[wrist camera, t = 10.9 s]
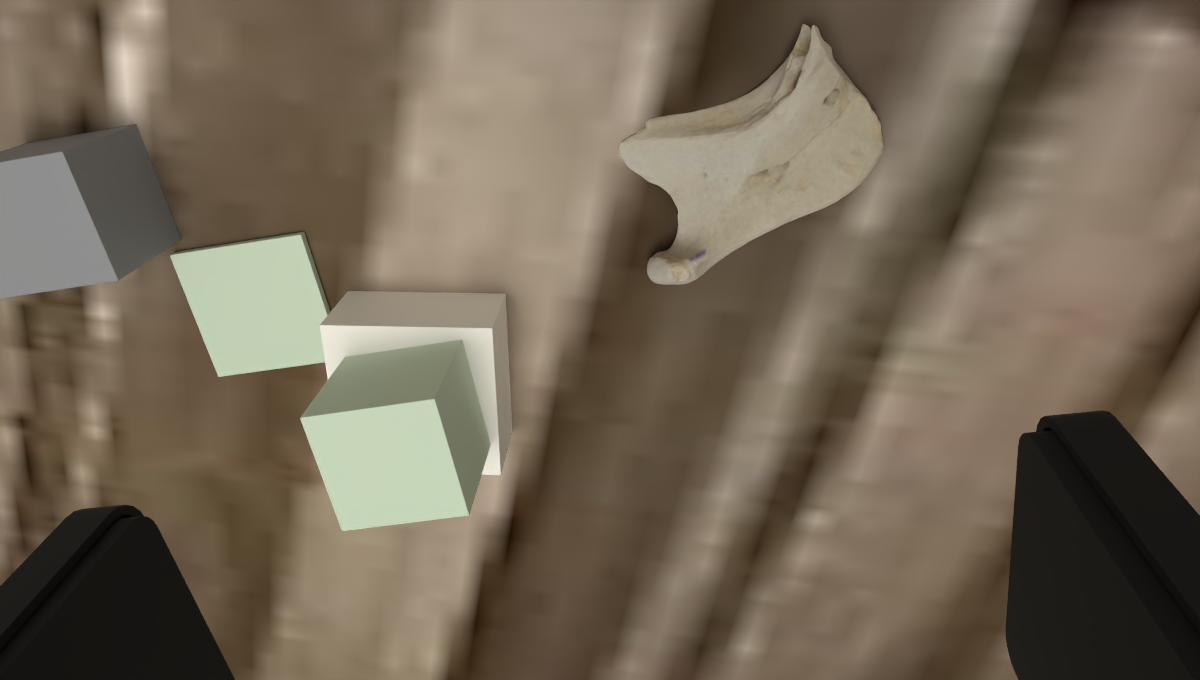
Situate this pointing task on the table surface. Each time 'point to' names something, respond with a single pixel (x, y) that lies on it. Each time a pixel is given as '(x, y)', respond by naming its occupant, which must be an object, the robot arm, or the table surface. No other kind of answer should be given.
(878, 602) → the table surface
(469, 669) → the table surface
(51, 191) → the gray cube
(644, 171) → the fossil
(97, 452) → the table surface
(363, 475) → the sage cube
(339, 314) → the base block
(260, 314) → the swatch
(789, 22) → the table surface
